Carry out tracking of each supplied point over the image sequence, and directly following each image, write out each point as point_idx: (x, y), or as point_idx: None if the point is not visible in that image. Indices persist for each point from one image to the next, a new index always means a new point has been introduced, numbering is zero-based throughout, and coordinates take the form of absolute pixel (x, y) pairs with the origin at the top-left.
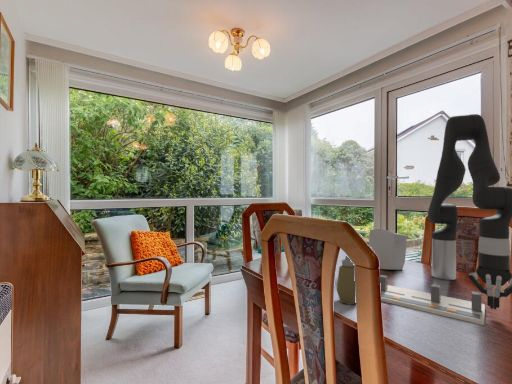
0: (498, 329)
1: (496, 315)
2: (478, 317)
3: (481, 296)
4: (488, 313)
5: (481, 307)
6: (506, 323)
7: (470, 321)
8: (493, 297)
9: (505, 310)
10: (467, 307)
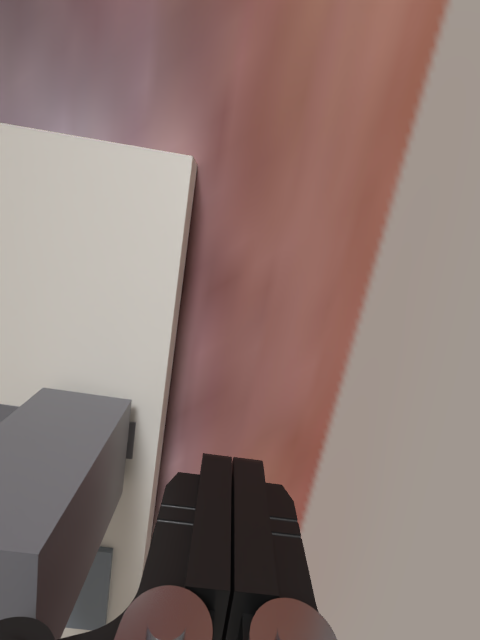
0: None
1: (267, 349)
2: (93, 620)
3: (54, 606)
4: (207, 331)
5: (125, 420)
6: (302, 499)
7: None
8: (231, 571)
9: (395, 125)
10: (8, 394)
